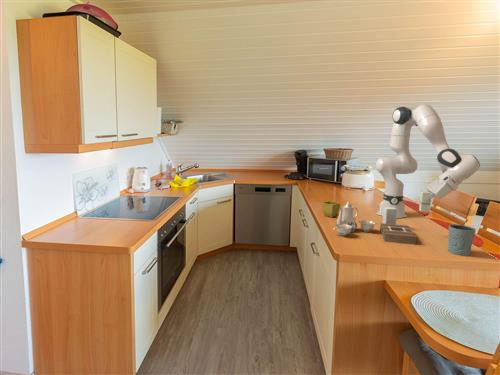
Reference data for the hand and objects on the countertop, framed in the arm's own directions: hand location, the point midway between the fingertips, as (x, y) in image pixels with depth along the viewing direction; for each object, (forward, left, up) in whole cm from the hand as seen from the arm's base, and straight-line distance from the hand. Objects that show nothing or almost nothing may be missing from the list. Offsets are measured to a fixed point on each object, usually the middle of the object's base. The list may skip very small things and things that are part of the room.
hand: (424, 198), depth 162 cm
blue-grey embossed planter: (+20, +12, -21) cm, 31 cm away
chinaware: (+4, -35, -21) cm, 41 cm away
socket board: (+5, -12, -20) cm, 24 cm away
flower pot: (-27, -47, -21) cm, 58 cm away
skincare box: (-10, -14, -21) cm, 27 cm away
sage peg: (0, +1, -6) cm, 6 cm away
